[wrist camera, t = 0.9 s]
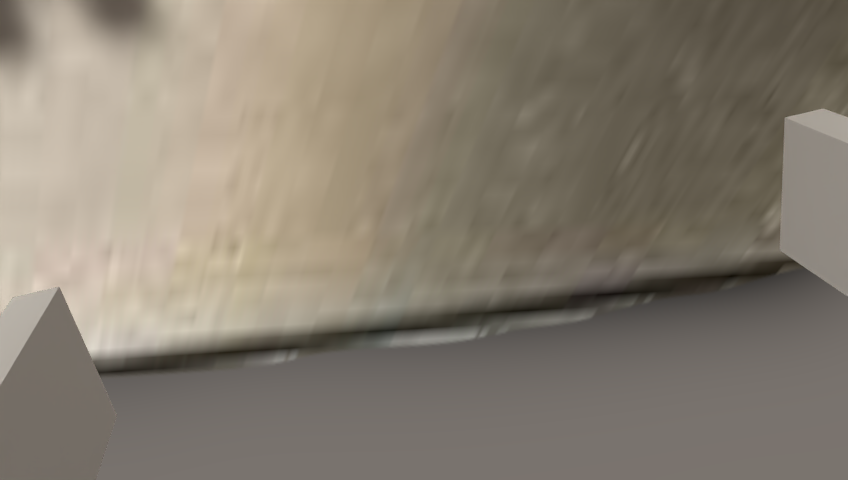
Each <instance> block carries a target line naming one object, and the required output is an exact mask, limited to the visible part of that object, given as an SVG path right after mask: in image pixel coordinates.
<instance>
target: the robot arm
mask: <svg viewBox="0 0 848 480" xmlns="http://www.w3.org/2000/svg"><path fill="white" fill-rule="evenodd" d="M780 251H781V252H783V253H784V254H786V255H787V256H789V257H790V258H792V259H793V260H795V261H796V262H798V263H799V264H801V265H802V266H804V267H805V268H806V269H808V270H809V271H811V272H812V273H814V274H815V275H817V276H819V277H820V278H822V279H823V280H824V281H826V282H827V283H829V284H830V285H832V286H833V287H834V288H836V289H837V290H839V291H840V292H842V293H843V294H845V295H846V296H848V117H845V116H843V115H840V114H837V113H834V112H832V111H829V110H826V109H819V110H815V111H811V112H806V113H802V114H798V115H794V116H789V117H785V125H784V152H783V178H782V204H781V230H780ZM116 417H117V414H116V412H115V410H114V408H113V405H112V403H111V401H110V399H109V396H108V394H107V392H106V390H105V388H104V385H103V383H102V381H101V379H100V376H99V374H98V372H97V370H96V368H95V365H94V363H93V361H92V359H91V356H90V354H89V352H88V350H87V347H86V345H85V343H84V341H83V339H82V336H81V334H80V332H79V330H78V327H77V325H76V323H75V321H74V319H73V316H72V314H71V312H70V310H69V307H68V305H67V303H66V301H65V298H64V296H63V294H62V292H61V290H60V287H55V288H51V289H47V290H42V291H38V292H34V293H30V294H25V295H21V296H17V297H13V298H12V299H11V301H10V302H9V304H8V305H7V306H6V308H5V309H4V311H3V312H2V314H1V315H0V480H96V478H97V475H98V472H99V468H100V466H101V463H102V459H103V457H104V453H105V450H106V447H107V444H108V441H109V438H110V435H111V432H112V429H113V426H114V423H115V420H116Z"/></svg>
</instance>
